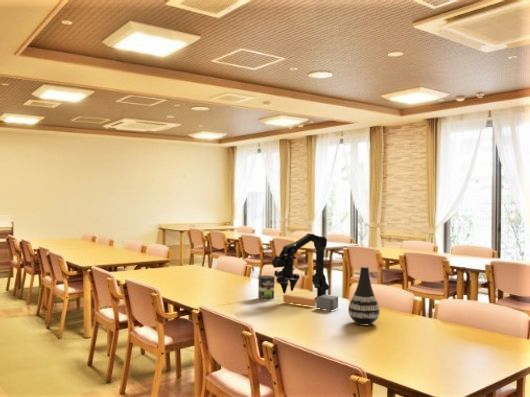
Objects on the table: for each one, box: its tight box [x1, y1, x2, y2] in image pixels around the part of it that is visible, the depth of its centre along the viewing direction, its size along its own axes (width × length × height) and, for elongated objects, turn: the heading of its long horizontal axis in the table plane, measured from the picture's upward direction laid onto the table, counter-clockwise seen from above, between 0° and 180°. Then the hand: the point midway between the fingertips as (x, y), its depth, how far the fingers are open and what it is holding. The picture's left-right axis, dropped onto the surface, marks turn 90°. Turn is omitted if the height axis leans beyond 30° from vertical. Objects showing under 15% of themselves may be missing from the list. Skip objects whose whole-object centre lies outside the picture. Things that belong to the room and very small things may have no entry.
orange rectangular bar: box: [282, 294, 316, 307], centre depth 291 cm, size 20×3×5 cm, turn 59°
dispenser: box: [315, 294, 339, 310], centre depth 281 cm, size 10×8×7 cm
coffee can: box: [257, 275, 276, 301], centre depth 306 cm, size 10×10×14 cm
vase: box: [348, 266, 381, 325], centre depth 251 cm, size 16×16×30 cm
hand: (288, 292), depth 295 cm, fingers open, 9 cm apart
